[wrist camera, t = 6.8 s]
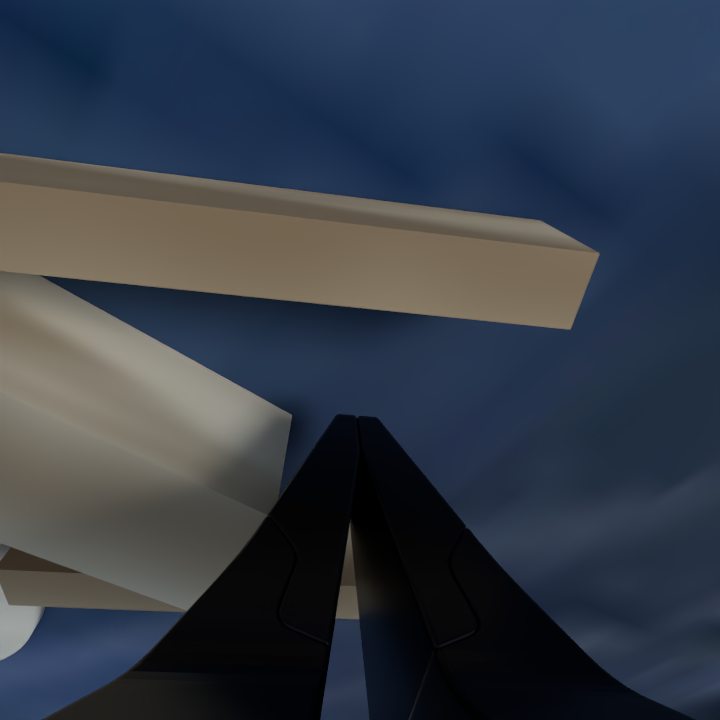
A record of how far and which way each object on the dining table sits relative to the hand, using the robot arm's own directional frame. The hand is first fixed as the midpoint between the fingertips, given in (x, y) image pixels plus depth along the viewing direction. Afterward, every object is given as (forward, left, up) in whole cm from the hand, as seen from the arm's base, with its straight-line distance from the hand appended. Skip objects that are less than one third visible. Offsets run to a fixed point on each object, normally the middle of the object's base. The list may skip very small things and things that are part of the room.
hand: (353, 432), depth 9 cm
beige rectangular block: (0, +6, -1) cm, 6 cm away
